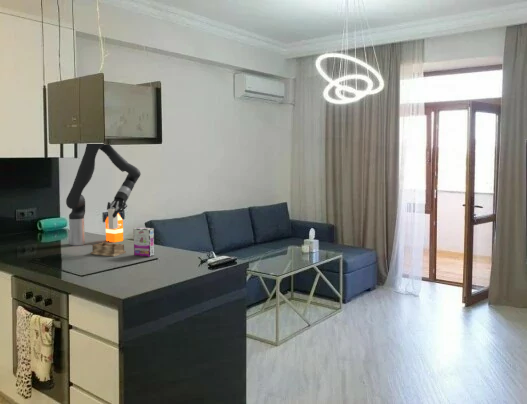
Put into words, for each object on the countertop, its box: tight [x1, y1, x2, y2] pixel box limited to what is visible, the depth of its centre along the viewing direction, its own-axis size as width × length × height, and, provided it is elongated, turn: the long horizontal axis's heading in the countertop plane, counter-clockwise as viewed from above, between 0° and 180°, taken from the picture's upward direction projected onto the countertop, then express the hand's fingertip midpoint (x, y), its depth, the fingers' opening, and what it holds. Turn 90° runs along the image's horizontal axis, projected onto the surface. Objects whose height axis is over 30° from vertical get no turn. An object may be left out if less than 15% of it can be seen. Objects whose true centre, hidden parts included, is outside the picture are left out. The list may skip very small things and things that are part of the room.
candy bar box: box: [133, 227, 155, 258], centre depth 286 cm, size 11×5×16 cm, turn 71°
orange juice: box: [105, 212, 124, 243], centre depth 330 cm, size 8×9×20 cm
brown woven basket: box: [90, 242, 127, 257], centre depth 291 cm, size 17×11×5 cm, turn 68°
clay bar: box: [107, 207, 118, 229], centre depth 294 cm, size 4×4×12 cm
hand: (110, 216), depth 292 cm, fingers closed on clay bar, 3 cm apart
